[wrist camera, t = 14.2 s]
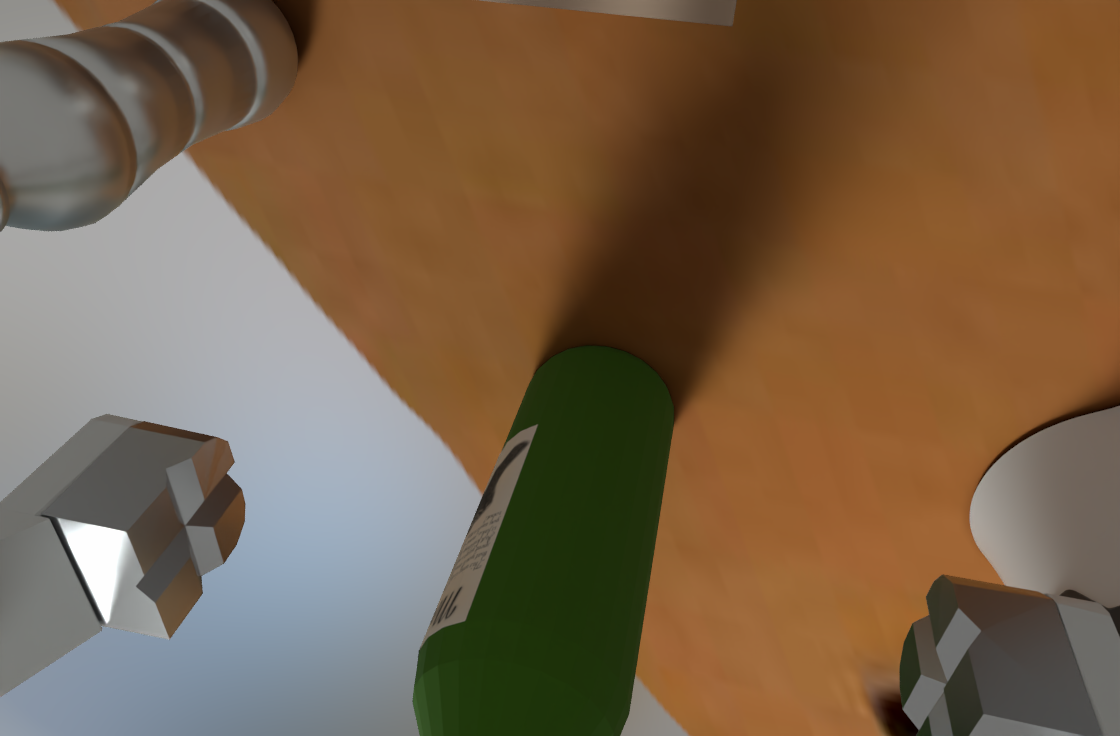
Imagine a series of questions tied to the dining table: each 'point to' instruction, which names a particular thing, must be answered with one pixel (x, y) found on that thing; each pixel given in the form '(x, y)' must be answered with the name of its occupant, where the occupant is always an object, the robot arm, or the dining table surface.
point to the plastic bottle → (130, 102)
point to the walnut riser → (648, 8)
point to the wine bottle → (555, 560)
